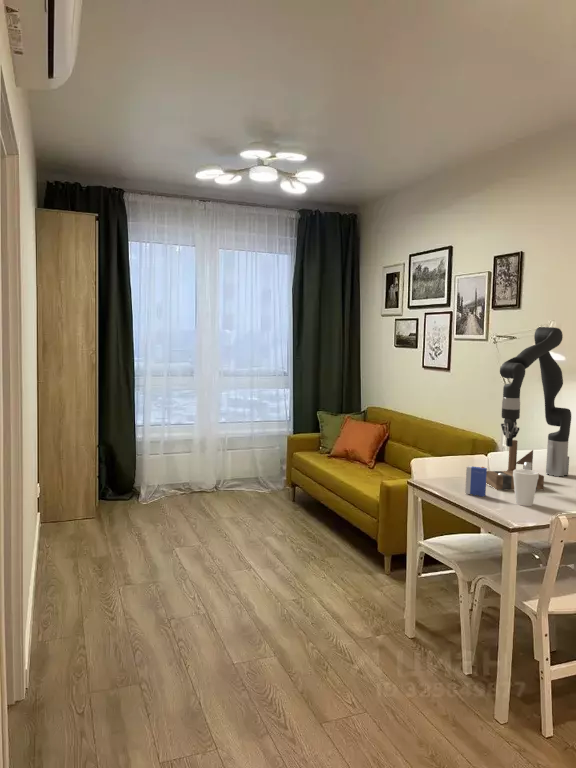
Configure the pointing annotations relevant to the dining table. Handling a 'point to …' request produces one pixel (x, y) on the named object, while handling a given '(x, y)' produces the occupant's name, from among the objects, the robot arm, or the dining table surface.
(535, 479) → the foam cup
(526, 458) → the wooden post with wedge
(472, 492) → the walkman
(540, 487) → the band block
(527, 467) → the peg inner
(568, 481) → the dining table surface
